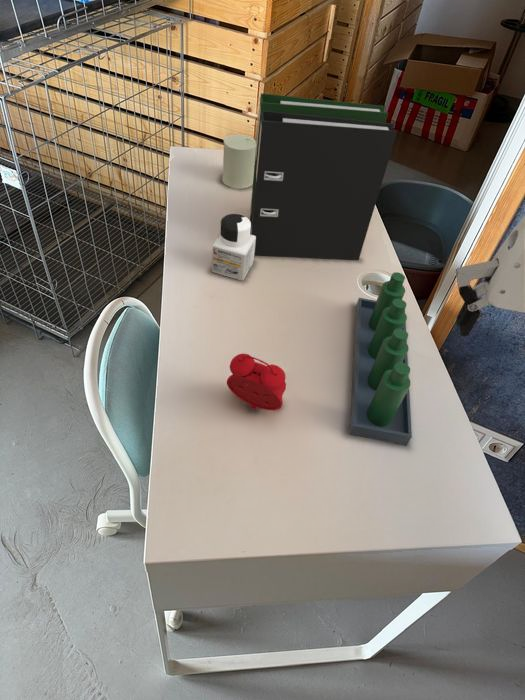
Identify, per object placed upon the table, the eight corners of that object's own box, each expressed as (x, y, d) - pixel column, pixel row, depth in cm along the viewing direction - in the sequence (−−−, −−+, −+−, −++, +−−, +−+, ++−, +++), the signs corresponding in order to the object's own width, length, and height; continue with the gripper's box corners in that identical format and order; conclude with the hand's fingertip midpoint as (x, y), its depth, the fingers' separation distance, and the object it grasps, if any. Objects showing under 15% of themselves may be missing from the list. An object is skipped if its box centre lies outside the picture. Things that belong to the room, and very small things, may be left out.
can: (259, 184, 140) (263, 143, 131) (233, 191, 136) (236, 150, 127) (241, 170, 145) (244, 130, 136) (215, 177, 141) (217, 136, 132)
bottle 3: (391, 394, 91) (414, 345, 81) (367, 389, 91) (387, 340, 81) (390, 375, 94) (413, 326, 84) (367, 371, 94) (387, 322, 84)
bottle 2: (390, 362, 96) (412, 313, 86) (367, 358, 96) (387, 309, 87) (390, 346, 99) (411, 297, 89) (368, 342, 100) (387, 292, 90)
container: (211, 272, 111) (212, 224, 102) (223, 254, 116) (225, 206, 107) (242, 281, 110) (247, 233, 100) (253, 262, 115) (258, 215, 106)
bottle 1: (390, 335, 102) (410, 285, 92) (368, 331, 102) (386, 281, 92) (389, 320, 105) (409, 271, 95) (368, 316, 105) (386, 267, 95)
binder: (350, 229, 129) (384, 104, 105) (359, 264, 119) (398, 134, 95) (249, 222, 126) (260, 93, 103) (249, 257, 116) (262, 122, 93)
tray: (406, 445, 84) (412, 437, 82) (349, 434, 85) (353, 425, 83) (400, 315, 107) (404, 305, 105) (355, 306, 108) (358, 297, 106)
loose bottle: (392, 429, 85) (417, 381, 76) (366, 424, 86) (388, 376, 76) (391, 408, 89) (415, 360, 79) (366, 403, 89) (388, 355, 79)
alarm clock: (287, 404, 88) (299, 349, 77) (274, 430, 84) (285, 376, 73) (236, 383, 90) (241, 327, 79) (221, 407, 86) (224, 352, 75)
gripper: (499, 219, 46) (435, 344, 58) (683, 250, 45) (578, 369, 58) (485, 182, 51) (429, 304, 63) (650, 209, 50) (561, 327, 63)
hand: (500, 335), depth 60 cm, fingers open, 9 cm apart
